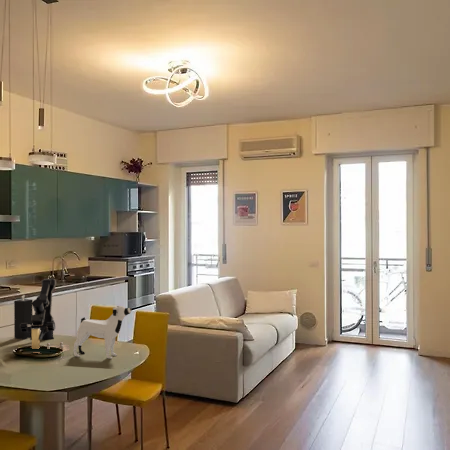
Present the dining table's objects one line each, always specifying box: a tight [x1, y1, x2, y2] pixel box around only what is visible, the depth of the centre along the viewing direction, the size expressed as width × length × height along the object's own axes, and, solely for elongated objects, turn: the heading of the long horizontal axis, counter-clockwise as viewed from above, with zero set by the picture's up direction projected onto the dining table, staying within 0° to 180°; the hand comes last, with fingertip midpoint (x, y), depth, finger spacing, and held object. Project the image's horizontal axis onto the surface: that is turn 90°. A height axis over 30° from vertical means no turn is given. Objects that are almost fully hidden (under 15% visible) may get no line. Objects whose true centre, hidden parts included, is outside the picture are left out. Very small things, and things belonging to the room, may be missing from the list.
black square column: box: [13, 294, 33, 340], centre depth 302 cm, size 8×8×28 cm
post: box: [31, 328, 41, 349], centre depth 267 cm, size 4×4×11 cm
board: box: [33, 341, 70, 354], centre depth 269 cm, size 26×14×4 cm, turn 112°
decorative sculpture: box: [73, 305, 132, 360], centre depth 259 cm, size 10×32×30 cm, turn 78°
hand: (35, 339), depth 266 cm, fingers closed on post, 4 cm apart
